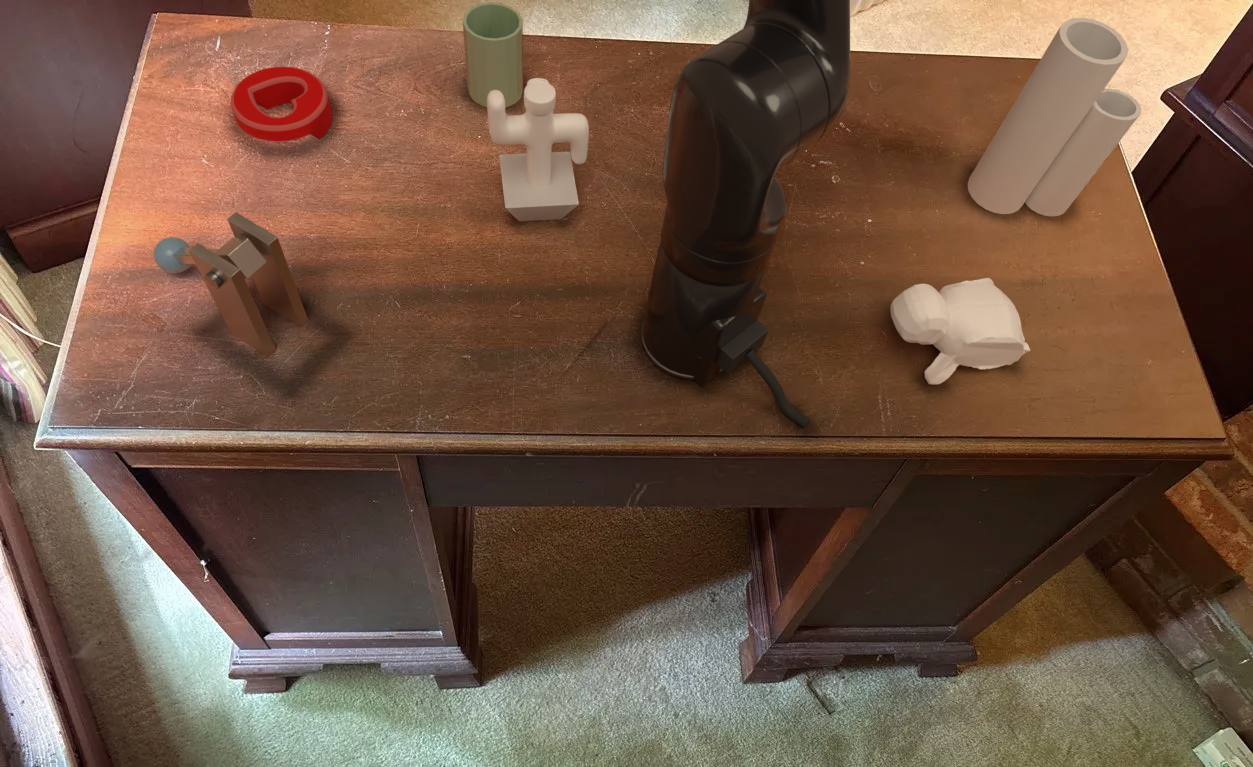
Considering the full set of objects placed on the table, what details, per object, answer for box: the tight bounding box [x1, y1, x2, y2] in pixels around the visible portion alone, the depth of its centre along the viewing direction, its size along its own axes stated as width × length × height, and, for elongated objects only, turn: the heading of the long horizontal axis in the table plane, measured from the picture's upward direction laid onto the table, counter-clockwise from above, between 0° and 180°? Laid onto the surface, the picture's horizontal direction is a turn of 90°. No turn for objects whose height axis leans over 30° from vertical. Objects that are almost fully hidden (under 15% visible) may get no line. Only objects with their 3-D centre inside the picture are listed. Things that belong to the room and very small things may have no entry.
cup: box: [462, 1, 524, 109], centre depth 95 cm, size 6×6×9 cm
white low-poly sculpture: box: [889, 277, 1031, 386], centre depth 83 cm, size 9×8×15 cm
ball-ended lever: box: [153, 236, 267, 280], centre depth 75 cm, size 16×3×3 cm
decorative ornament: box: [230, 66, 334, 142], centre depth 92 cm, size 10×10×3 cm
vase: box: [966, 17, 1142, 217], centre depth 90 cm, size 11×7×20 cm, turn 93°
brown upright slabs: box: [189, 211, 309, 358], centre depth 74 cm, size 10×7×13 cm
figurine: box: [486, 77, 590, 222], centre depth 84 cm, size 7×9×15 cm
